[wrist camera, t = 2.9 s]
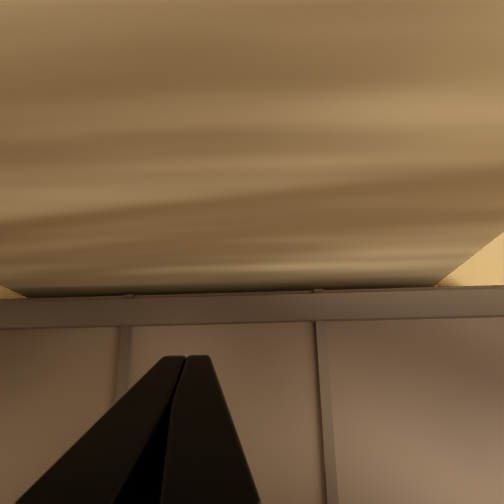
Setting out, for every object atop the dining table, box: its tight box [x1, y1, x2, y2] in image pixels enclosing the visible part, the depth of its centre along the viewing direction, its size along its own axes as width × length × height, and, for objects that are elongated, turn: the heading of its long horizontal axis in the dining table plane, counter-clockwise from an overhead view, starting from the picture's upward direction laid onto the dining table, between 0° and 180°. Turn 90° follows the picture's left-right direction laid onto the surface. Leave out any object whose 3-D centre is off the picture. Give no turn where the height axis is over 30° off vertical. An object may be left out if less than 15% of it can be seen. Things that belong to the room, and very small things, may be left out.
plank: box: [0, 0, 504, 298], centre depth 9 cm, size 2×14×16 cm, turn 91°
